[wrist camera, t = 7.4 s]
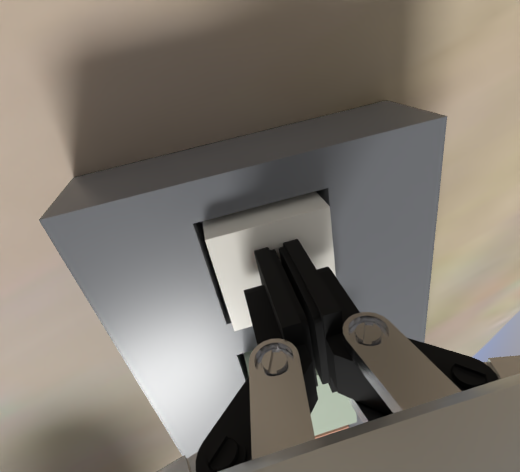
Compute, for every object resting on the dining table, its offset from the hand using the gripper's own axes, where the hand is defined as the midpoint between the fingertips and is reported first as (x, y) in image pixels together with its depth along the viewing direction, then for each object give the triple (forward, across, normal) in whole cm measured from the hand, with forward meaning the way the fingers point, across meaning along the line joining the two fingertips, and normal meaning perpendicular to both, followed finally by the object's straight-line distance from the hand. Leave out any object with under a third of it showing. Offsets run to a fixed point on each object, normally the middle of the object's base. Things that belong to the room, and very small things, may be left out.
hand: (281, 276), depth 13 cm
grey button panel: (+5, 0, +7) cm, 8 cm away
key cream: (+3, 0, 0) cm, 3 cm away
